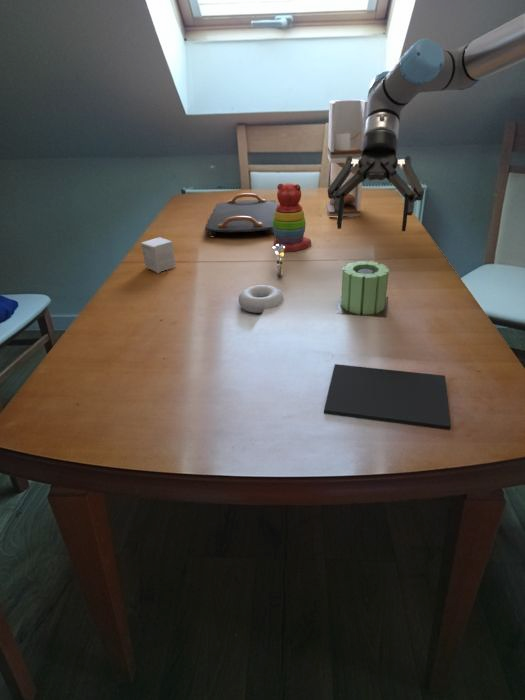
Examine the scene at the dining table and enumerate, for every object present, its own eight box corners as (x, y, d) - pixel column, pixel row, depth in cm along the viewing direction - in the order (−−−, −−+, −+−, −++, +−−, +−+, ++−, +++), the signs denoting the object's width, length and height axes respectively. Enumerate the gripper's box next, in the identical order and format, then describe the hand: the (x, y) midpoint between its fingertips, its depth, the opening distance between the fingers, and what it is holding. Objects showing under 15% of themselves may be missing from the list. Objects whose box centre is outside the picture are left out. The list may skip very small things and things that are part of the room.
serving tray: (277, 238, 143) (276, 218, 140) (202, 240, 145) (200, 220, 141) (278, 206, 176) (277, 189, 173) (217, 208, 178) (216, 192, 174)
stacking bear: (313, 242, 138) (313, 180, 129) (301, 254, 131) (301, 188, 121) (279, 239, 142) (278, 178, 133) (266, 250, 135) (263, 186, 125)
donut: (270, 293, 109) (231, 302, 105) (270, 279, 107) (230, 288, 103) (292, 309, 101) (250, 319, 97) (292, 294, 99) (250, 304, 96)
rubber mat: (444, 378, 77) (445, 375, 76) (450, 429, 66) (451, 426, 66) (334, 366, 81) (334, 364, 81) (323, 413, 70) (323, 410, 70)
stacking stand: (387, 302, 102) (391, 263, 97) (385, 324, 93) (390, 282, 89) (341, 299, 104) (343, 261, 99) (335, 320, 96) (337, 279, 91)
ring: (285, 280, 115) (284, 249, 111) (272, 280, 115) (271, 249, 111) (286, 269, 121) (285, 239, 117) (274, 270, 121) (273, 240, 117)
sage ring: (385, 297, 101) (389, 262, 96) (384, 316, 93) (387, 279, 89) (343, 294, 103) (345, 259, 99) (338, 312, 95) (340, 276, 91)
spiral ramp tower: (326, 209, 170) (329, 101, 152) (355, 208, 170) (362, 99, 152) (328, 217, 161) (332, 103, 142) (359, 216, 160) (367, 101, 142)
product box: (145, 268, 126) (140, 242, 122) (163, 262, 130) (159, 236, 126) (157, 274, 122) (153, 247, 118) (176, 267, 126) (172, 240, 122)
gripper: (323, 129, 103) (311, 216, 99) (442, 128, 97) (434, 219, 93) (325, 151, 110) (314, 233, 106) (436, 151, 105) (429, 237, 100)
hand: (370, 227), depth 99 cm, fingers open, 13 cm apart
